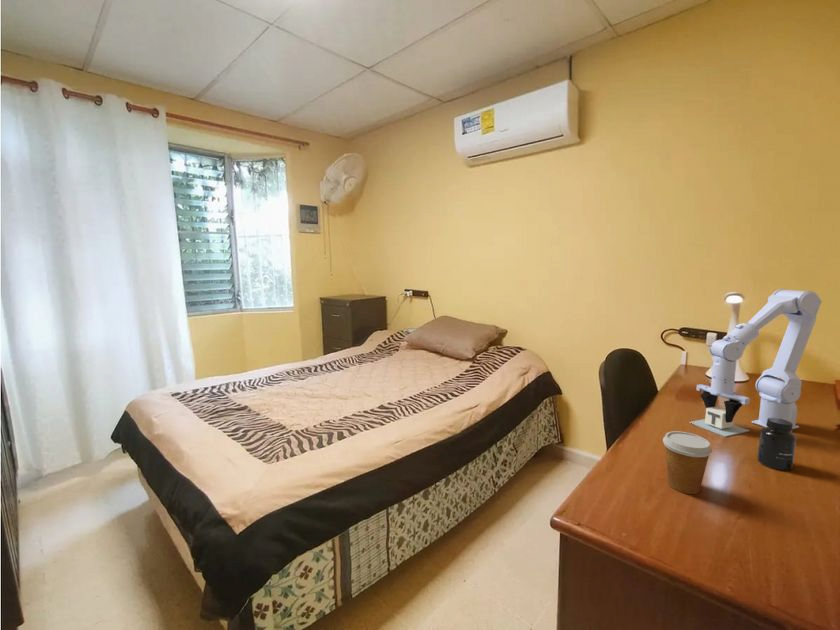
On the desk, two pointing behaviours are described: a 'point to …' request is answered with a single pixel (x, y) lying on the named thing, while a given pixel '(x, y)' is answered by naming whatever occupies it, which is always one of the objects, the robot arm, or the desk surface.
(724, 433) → the slate mat
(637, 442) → the desk surface
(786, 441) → the supplement bottle
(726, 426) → the letter block
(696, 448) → the disposable coffee cup
